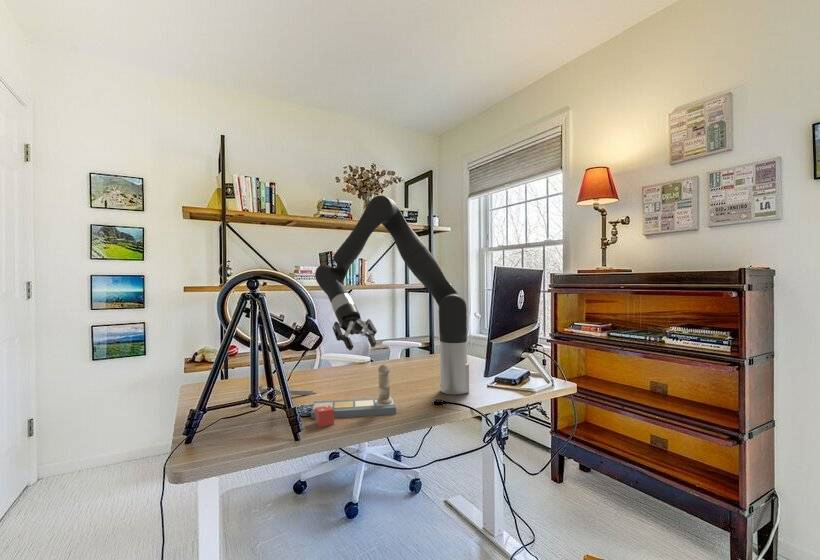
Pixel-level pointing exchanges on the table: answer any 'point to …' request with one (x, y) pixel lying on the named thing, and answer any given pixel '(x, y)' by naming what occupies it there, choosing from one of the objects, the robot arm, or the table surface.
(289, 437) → the table surface
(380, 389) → the pawn
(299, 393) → the caliper
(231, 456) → the table surface
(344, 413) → the board
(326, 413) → the die
